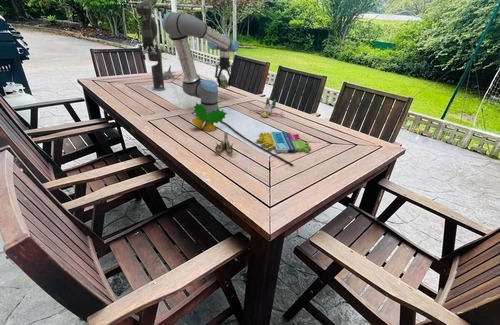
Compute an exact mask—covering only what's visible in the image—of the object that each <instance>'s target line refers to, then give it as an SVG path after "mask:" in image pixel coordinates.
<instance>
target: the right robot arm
mask: <svg viewBox="0 0 500 325" xmlns="http://www.w3.org/2000/svg"><path fill="white" fill-rule="evenodd" d="M162 18H163V19H162V21H161V25H162V30H163V31H164V32H165V33H166V34H167V35H168V37H169V40H171V41H172V42H173V43H174V46H175V50H176V53H177V58H178V60H179V63H180V66H181V71H182V73H183V79H182V84H181V88H182V92H183V93H184V94H185V95H187V96H190V97H194V98H198V99H200V104H201V106H204V109H206V112H208V113H211V112H212V110H214V111H216V110H217V109H219V111H221V110H220V108H219V102H218V99H219V88H220V87H221V86H220V78H219V77H220V75H221V73H223V70H224V71H225V70H226V72H227V75H228V79H227V81H228V88H231V83H232V79H234V77H235V76H234V65H233V64H230V53H237V52H238V51H239V48H240V44H239V42H238V40H235V39H231V37H230V35H229V34H222V33H220V32H218V31H217V30H215V29H213V28H211V27H210V26H208V25H207V23H206V22H205V21H203V20H202V19H200V18H198V17H196V16H195V15H192V14H189V13H185V12H175V11H172V12H167V13H165V14H164V16H163V17H162ZM189 37H193V38H197V39H200V40H201V39H203V40H205V41H207V42H208V43H207V46H208V48H209V49H210V50H213V51H216V50H217V51H219V63H218V64H217V63H216V64H215V72H214V78H215V79H216V81H214V80H211V79H201V76H200V75H199V74H198V73H197V70H196V66H195V62H194V57H193V55H192V51H191V47H190V43H189V40H188V38H189ZM229 67H230V70H229ZM218 83H219V84H218ZM208 113H207V115H208ZM219 122H220V123H222V124H224V125H226V126H227V127H228V128H230V129H231V130H232V131H233V132H235V133H236V134H237V135H239V136H240V137H241V138H243V139H245V140H246V141H248V142H249V143H250V144H252V145H255V146H256V147H258V148H260V149H261V150H263V151H265V152H266V153H268V154H271V155H272V156H274V157H275V158H278V159H279V160H281V161H283V162H285V163H286V164H288V165H291V166H294V164H293V163H291V162H289V161H288V160H286V159H284V158H283V157H280V156H279V155H276V154H275V153H273V152H271V151H268V149H267V148H265V147H262V146H260V145H258V143H257V144H256V143H255V142H254V141H251V140H250V139H248V138H247V137H246V136H244V135H242V134H241V133H240V132H239V131H237V130H235V129H234V128H233V127H232V126H230V125H229V124H228V123H227V122H225V121H222V122H221V121H219Z"/></svg>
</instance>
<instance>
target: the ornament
mask: <svg viewBox="0 0 500 325" xmlns="http://www.w3.org/2000/svg"><path fill="white" fill-rule="evenodd" d="M219 110H220V108H219V109H217V110H216V111H214V110H212V112H211V113H208V112H206V109H204V106H201V103H198V102H195V105H194V106H193V112H194V113H195V118H192V119H191V122H192V123H193V125H195V127H197V128H198V129H202V130H203V131H206V132H212V131H213V132H214V131H215V130H216V126H215V124H218V123H219V122H220V121H221V122H220V123H222V122H223V119H226V115H227V114H228V113H227V112H224V110H223V109H221V110H220V111H219ZM207 113H208V115H207ZM214 123H215V124H214Z"/></svg>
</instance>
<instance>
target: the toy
mask: <svg viewBox="0 0 500 325" xmlns="http://www.w3.org/2000/svg"><path fill="white" fill-rule="evenodd" d="M276 105H277V100H276V98H274V99H273V101H272V103H270V99H269V97H267V98H266V101H265V106H263V108H262V109H253V108H252V107H250V108H247V110H248V112H255V113H256V112H257V113H260V114H259V116H261V117H263V118H269V116H270V115H269V114H271V115H274V116H275V115H277V116H278V115H279V116H280V117H284V116H285V113H284V112H283V111H281V112H276V111H272V110H273V109H272V108H275V107H276Z"/></svg>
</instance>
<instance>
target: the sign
mask: <svg viewBox="0 0 500 325" xmlns="http://www.w3.org/2000/svg"><path fill="white" fill-rule="evenodd" d="M299 136H300V135H299V134H298V133H296V134H294V133H291V132H287V131H270V132H264V133H263V132H260V133H259V139H258V138H257V139H256V143H257V144H261V147H262V148H264V149H267V150H268V151H269V152H271V151H272V150H273V149H275V152H276V153H283V154H285V153H287V154H288V153H290V154H293V153H296V152H298V153H301V152H305V153H310V151H311V150H312V149H311V148H312V146H309V142H304V141H303V139H302V138H299Z"/></svg>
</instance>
